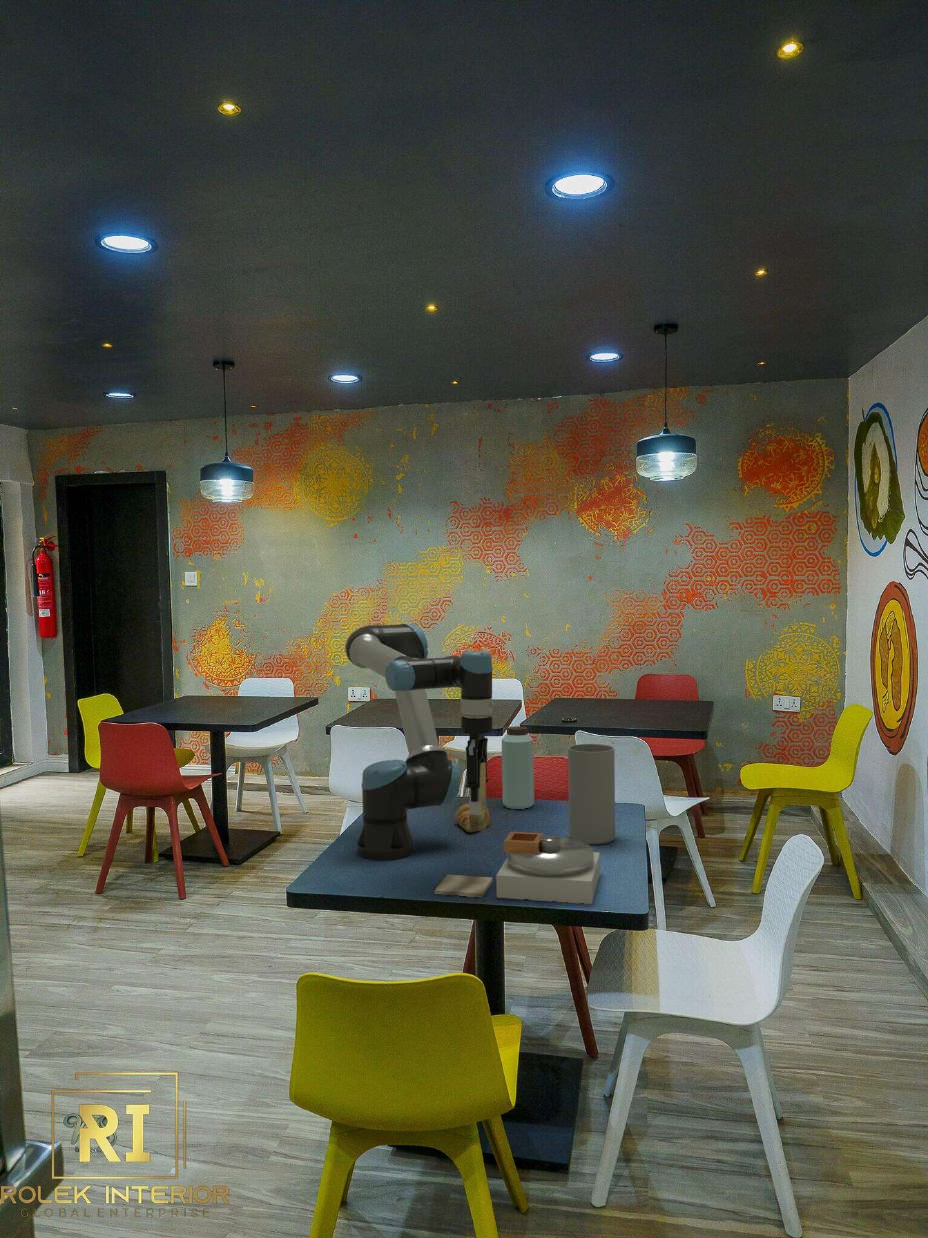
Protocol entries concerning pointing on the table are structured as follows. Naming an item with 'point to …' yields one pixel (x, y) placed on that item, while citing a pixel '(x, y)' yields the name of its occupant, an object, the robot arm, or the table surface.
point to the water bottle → (517, 768)
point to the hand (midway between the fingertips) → (477, 811)
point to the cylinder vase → (591, 793)
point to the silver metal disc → (547, 854)
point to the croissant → (463, 817)
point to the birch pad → (464, 885)
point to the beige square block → (549, 885)
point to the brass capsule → (480, 820)
